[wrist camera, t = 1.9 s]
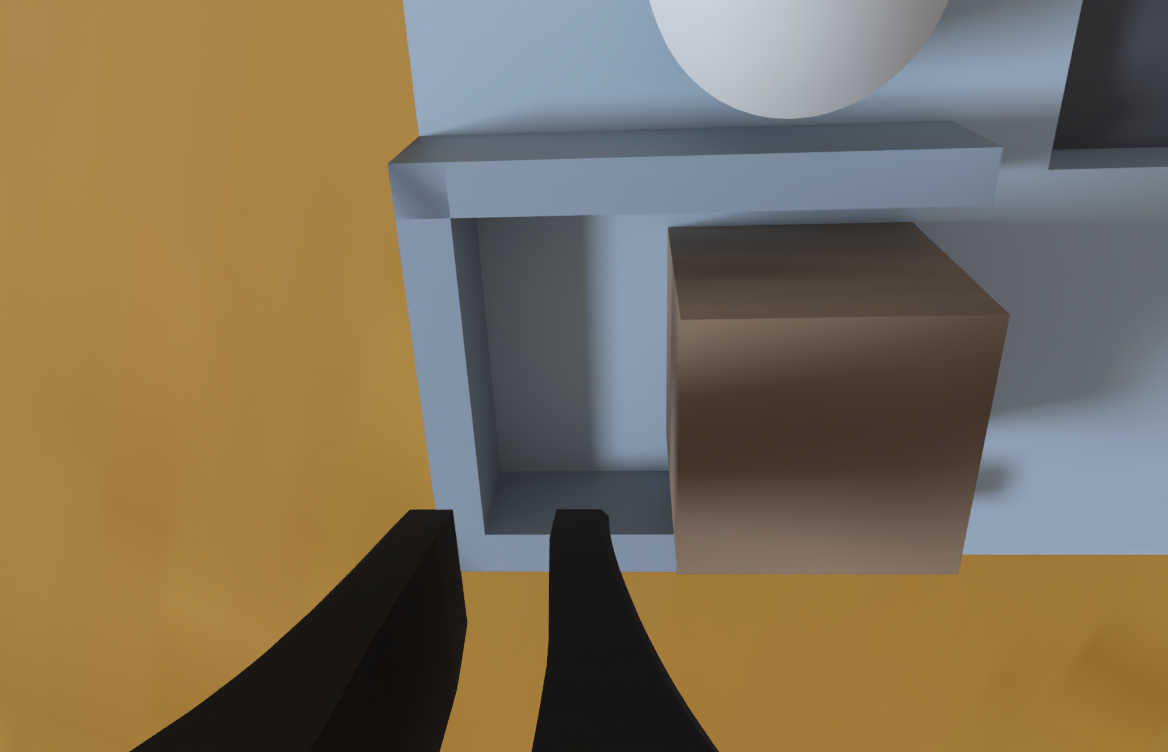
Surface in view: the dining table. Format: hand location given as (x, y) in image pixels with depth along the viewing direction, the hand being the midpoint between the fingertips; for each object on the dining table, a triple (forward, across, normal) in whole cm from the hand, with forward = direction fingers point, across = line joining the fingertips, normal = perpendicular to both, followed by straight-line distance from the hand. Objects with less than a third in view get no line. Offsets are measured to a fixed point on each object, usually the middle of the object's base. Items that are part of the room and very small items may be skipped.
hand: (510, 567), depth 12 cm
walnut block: (+8, -5, 0) cm, 9 cm away
